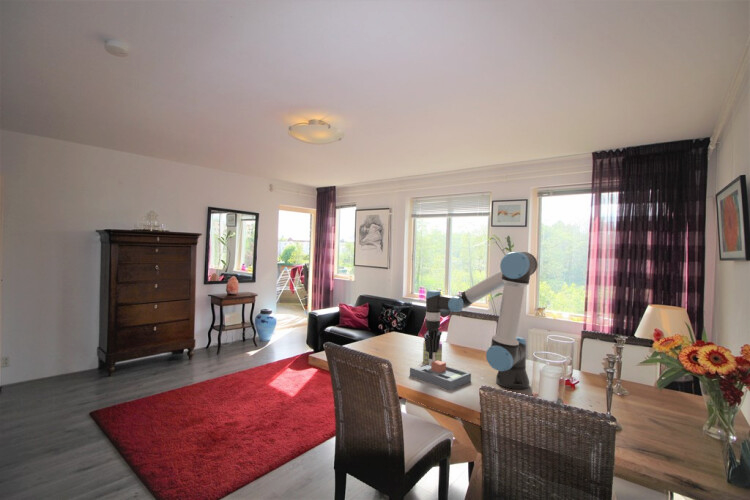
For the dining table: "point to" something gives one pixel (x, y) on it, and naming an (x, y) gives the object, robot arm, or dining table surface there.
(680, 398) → the dining table surface
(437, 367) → the block
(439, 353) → the box
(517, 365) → the robot arm
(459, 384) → the box
